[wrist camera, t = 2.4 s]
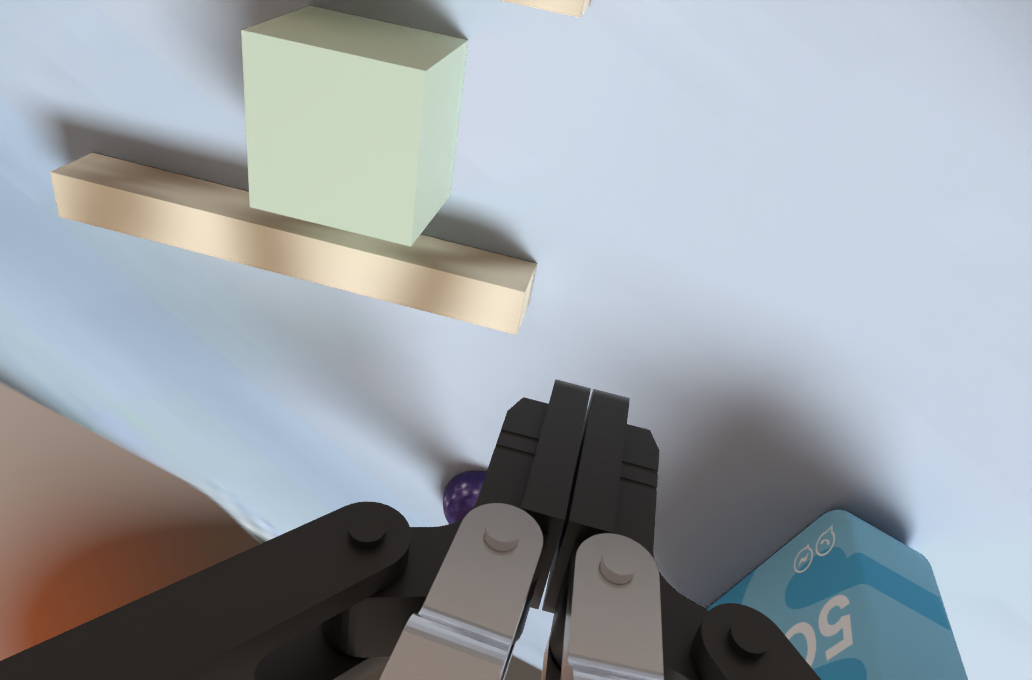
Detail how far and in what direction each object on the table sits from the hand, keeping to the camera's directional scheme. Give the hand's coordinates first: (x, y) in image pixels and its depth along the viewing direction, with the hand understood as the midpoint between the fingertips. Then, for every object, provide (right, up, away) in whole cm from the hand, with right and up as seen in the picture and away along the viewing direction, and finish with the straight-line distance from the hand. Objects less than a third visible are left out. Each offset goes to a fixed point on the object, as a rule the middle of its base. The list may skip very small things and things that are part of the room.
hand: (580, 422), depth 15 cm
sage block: (-6, +11, +14) cm, 19 cm away
